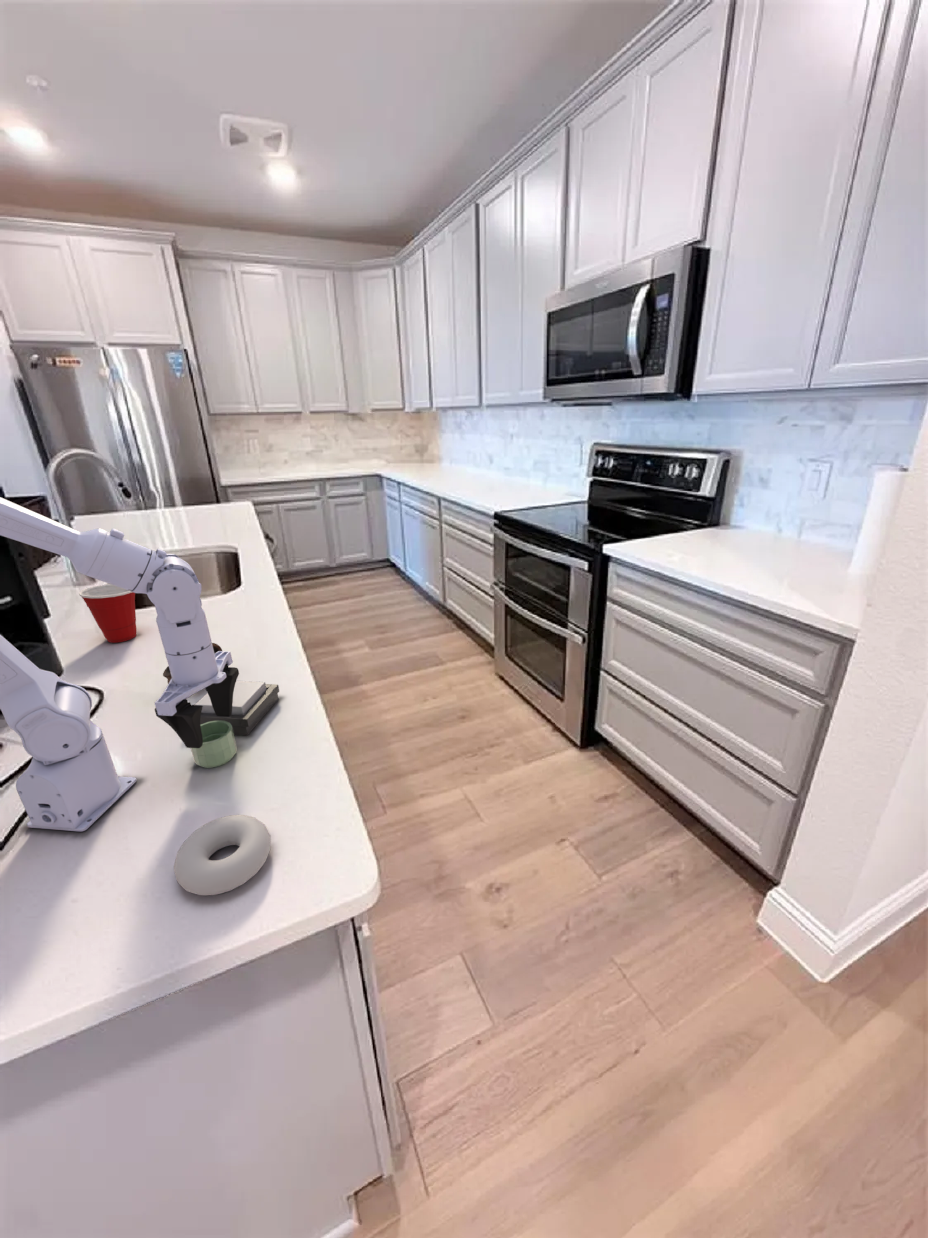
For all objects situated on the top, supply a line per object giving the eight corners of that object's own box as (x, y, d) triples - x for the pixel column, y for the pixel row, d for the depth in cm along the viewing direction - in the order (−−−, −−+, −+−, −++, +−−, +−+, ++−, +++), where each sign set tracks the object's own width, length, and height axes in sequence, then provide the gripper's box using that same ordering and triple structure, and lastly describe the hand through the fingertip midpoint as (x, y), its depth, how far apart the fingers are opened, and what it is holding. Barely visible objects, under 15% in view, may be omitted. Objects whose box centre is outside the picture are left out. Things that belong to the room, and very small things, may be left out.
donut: (280, 878, 56) (266, 818, 64) (275, 856, 54) (261, 797, 63) (178, 920, 52) (177, 849, 60) (170, 896, 50) (170, 827, 58)
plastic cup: (160, 632, 118) (147, 583, 114) (113, 651, 110) (97, 599, 105) (131, 624, 123) (117, 577, 118) (84, 642, 114) (67, 592, 109)
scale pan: (243, 716, 81) (241, 707, 80) (196, 713, 82) (194, 704, 81) (267, 690, 88) (265, 681, 87) (223, 688, 89) (221, 679, 88)
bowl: (224, 771, 73) (217, 745, 71) (186, 768, 73) (179, 742, 71) (244, 746, 78) (239, 721, 76) (209, 743, 78) (203, 719, 77)
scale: (250, 735, 80) (246, 719, 79) (186, 732, 81) (181, 716, 80) (281, 698, 90) (278, 684, 89) (223, 696, 92) (220, 681, 90)
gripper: (182, 673, 61) (207, 764, 67) (243, 625, 75) (260, 704, 80) (129, 671, 62) (157, 761, 67) (199, 624, 75) (218, 702, 81)
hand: (210, 730), depth 74 cm, fingers open, 7 cm apart
